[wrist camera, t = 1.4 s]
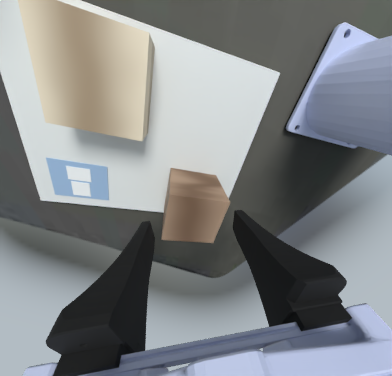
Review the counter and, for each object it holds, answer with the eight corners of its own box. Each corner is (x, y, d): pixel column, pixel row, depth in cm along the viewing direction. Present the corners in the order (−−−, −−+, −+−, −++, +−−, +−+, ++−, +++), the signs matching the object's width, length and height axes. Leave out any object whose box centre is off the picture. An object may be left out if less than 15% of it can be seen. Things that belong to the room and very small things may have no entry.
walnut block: (216, 175, 17) (230, 202, 13) (204, 210, 19) (213, 242, 15) (170, 167, 16) (169, 194, 12) (164, 205, 18) (161, 239, 14)
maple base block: (154, 46, 11) (149, 32, 8) (147, 132, 14) (142, 141, 11) (56, 13, 10) (14, -16, 7) (71, 116, 12) (45, 122, 10)
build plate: (276, 73, 13) (281, 72, 13) (219, 215, 21) (220, 219, 20) (-26, -35, 9) (-39, -44, 8) (44, 197, 16) (39, 201, 16)
